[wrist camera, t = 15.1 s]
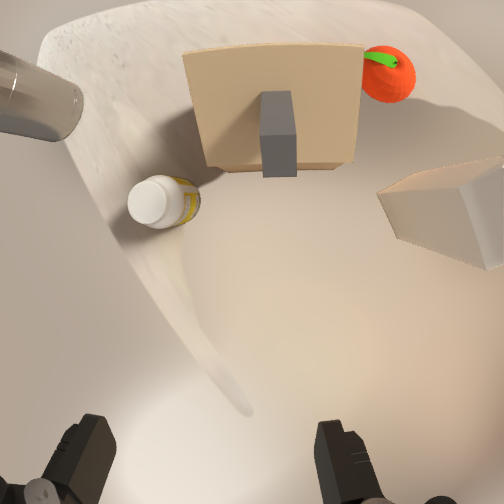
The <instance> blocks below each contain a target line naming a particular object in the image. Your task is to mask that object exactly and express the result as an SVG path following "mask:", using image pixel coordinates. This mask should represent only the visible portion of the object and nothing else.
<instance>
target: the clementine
mask: <svg viewBox="0 0 504 504" xmlns="http://www.w3.org/2000/svg"><path fill="white" fill-rule="evenodd" d="M415 83H416V75H415V69H414V66H413V64H412V63H411V61H410V59H409V58H408V57H407V56H406V55H405V54H404V53H402V52H401V51H400V50H398V49H396V48H393V47H390V46H377V47H373V48H370V49H369V50H367V51H366V52H364V61H363V75H362V88H363V90H364V91H365V92H366V93H367V94H368V95H369V96H371V97H372V98H374V99H376V100H378V101H381V102H385V103H395V102H398V101H401V100H403V99H405V98H406V97H408V96H409V95H410V93H411V92H412V90H413V89H414V86H415Z"/></svg>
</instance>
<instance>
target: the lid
mask: <svg viewBox="0 0 504 504" xmlns="http://www.w3.org/2000/svg"><path fill="white" fill-rule="evenodd" d="M182 58H183V62H184V67H185V71H186V76H187V81H188V85H189V90H190V94H191V99H192V103H193V108H194V112H195V116H196V121H197V125H198V129H199V134H200V138H201V142H202V147H203V151H204V155H205V159H206V164H207V167H213V166H228V165H246V164H262V169H263V177H296V176H297V163H353V159H354V151H355V143H356V135H357V127H358V118H359V117H358V116H359V108H360V98H361V87H362V75H363V61H364V47H363V46H362V45H353V44H337V43H266V44H250V45H238V46H228V47H219V48H211V49H203V50H196V51H190V52H184V53H183V54H182Z"/></svg>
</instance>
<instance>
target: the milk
mask: <svg viewBox="0 0 504 504" xmlns="http://www.w3.org/2000/svg"><path fill="white" fill-rule="evenodd" d="M377 196H378V198H379V200H380V202H381V204H382V206H383V209H384V211H385V213H386V215H387V217H388V219H389V222H390V224H391V226H392V228H393V230H394V233H395V235H396V237H397V238H398V239H401V240H403V241H406V242H409V243H412V244H415V245H418V246H421V247H424V248H427V249H429V250H432V251H435V252H438V253H440V254H443V255H446V256H449V257H451V258H454V259H457V260H459V261H462V262H465V263H467V264H470V265H473V266H475V267H478V268H480V269H483V270H490V269H492V268H495V267H498V266H500V265H503V264H504V156H500V157H494V158H488V159H483V160H477V161H472V162H467V163H461V164H456V165H451V166H445V167H441V168H436V169H431V170H426V171H421V172H416V173H413V174H412V175H410V176H408V177H406V178H404V179H402V180H401V181H399V182H397V183H395V184H393V185H391V186H389V187H387V188H385V189H384V190H382V191H380V192H378V193H377Z"/></svg>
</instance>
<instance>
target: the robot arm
mask: <svg viewBox="0 0 504 504" xmlns="http://www.w3.org/2000/svg"><path fill="white" fill-rule="evenodd" d="M82 109H83V95H82V92H81V90H80V88H79V87H78V86H77V85H75V84H73V83H71V82H69V81H67V80H65V79H63V78H61V77H59V76H57V75H55V74H53V73H51V72H48V71H46V70H44V69H42V68H40V67H38V66H36V65H33V64H31V63H29V62H26V61H24V60H22V59H20V58H18V57H15V56H13V55H10V54H8V53H6V52H3V51H1V50H0V132H3V133H8V134H14V135H20V136H25V137H30V138H34V139H40V140H45V141H50V142H56V141H60V140H62V139H64V138H65V137H66V136H68V135H69V134H70V133H71V132H72V130H73V129H74V128H75V126H76V125H77V123H78V121H79V119H80V116H81V113H82ZM115 454H116V441H115V438H114V436H113V434H112V432H111V429H110V427H109V425H108V423H107V420H106V418H105V417H103V416H98V415H93V414H85V415H84V416H83V418H82V420H81V421H80V423H79V424H73V425H72V426H71V427H70V428H69V429H68V430H66V432H65V433H64V435H63V437H62V439H61V442H60V443H59V444H58V446H57V450H55V452H54V454H53V456H52V457H51V459H50V461H49V463H48V465H47V467H46V469H45V471H44V473H43V475H42V477H41V478H37V479H33V480H31V481H30V482H29V483H27V485H18V484H8V483H7V482H6V481H5V480H4V479H3V478H2V477H1V476H0V504H98V502H99V499H100V496H101V494H102V490H103V487H104V485H105V482H106V479H107V477H108V473H109V471H110V468H111V466H112V463H113V460H114V457H115ZM314 459H315V464H316V469H317V474H318V479H319V484H320V489H321V493H322V498H323V503H324V504H394V503H392V502H391V501H389V500H387V499H386V498H385V497H384V495H383V494H382V492H381V489H380V486H379V483H378V480H377V478H376V475H375V472H374V469H373V466H372V464H371V462H370V458H369V455H368V453H367V450H366V447H365V445H364V442H363V440H362V439H361V438H360V437H359V436H358V435H357V434H356V433H355V432H354V431H350V432H344V430H343V427H342V424H341V421H340V420H331V421H322V422H319V423H318V429H317V434H316V439H315V444H314ZM425 504H457V503H456V502H455V501H454V500H453V499H451V498H449V497H446V496H437V497H433V498H431V499H429V500H428V501H427V502H426V503H425Z"/></svg>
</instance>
